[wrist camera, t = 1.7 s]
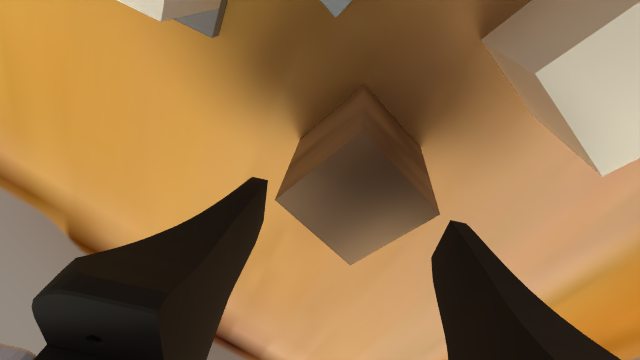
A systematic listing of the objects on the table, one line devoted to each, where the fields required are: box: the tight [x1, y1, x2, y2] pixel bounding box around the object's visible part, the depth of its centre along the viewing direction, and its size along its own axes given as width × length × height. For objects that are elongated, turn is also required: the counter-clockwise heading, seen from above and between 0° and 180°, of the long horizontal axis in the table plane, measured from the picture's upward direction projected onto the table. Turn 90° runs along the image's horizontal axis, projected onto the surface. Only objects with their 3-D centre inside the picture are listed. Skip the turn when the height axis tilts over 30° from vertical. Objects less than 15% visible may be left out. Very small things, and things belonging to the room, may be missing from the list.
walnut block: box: [275, 84, 440, 265], centre depth 16 cm, size 5×5×6 cm
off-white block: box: [481, 0, 640, 176], centre depth 12 cm, size 5×5×6 cm
